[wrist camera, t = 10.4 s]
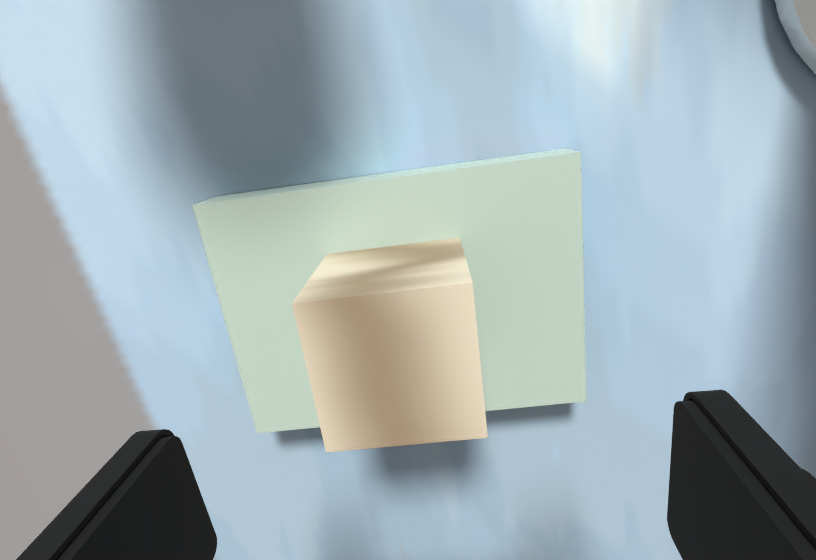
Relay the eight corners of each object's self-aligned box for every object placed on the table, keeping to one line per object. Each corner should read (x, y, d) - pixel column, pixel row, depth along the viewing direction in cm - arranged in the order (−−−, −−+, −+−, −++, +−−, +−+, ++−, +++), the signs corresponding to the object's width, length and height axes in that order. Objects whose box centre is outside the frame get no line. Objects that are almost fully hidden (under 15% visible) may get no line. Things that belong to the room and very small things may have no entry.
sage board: (564, 148, 18) (581, 152, 16) (572, 376, 22) (586, 401, 20) (214, 196, 19) (192, 205, 17) (271, 406, 23) (257, 433, 21)
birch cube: (459, 237, 18) (472, 282, 13) (472, 358, 19) (488, 437, 14) (327, 253, 18) (291, 303, 13) (350, 370, 20) (326, 452, 15)
